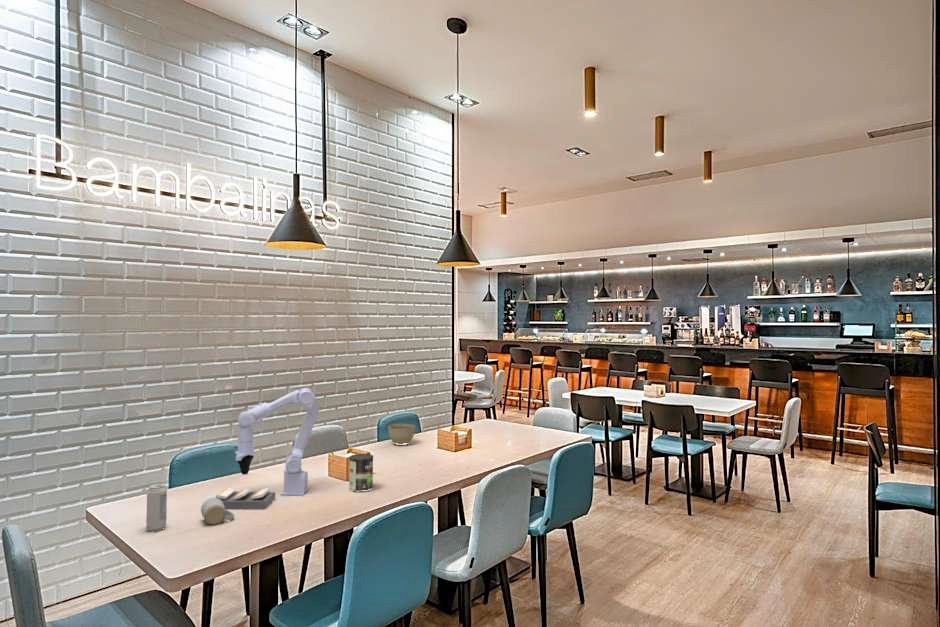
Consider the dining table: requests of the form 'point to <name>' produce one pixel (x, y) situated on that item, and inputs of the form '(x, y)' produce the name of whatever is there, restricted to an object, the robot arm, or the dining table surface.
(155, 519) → the energy drink can
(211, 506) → the ceramic mug
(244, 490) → the rocker middle
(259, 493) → the rocker
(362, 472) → the coffee can
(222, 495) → the rocker
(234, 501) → the switch panel
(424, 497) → the dining table surface
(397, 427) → the planter bowl
